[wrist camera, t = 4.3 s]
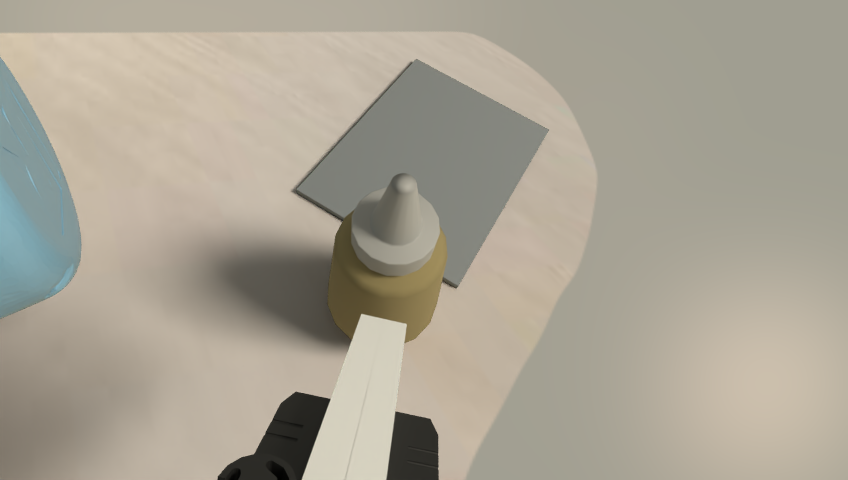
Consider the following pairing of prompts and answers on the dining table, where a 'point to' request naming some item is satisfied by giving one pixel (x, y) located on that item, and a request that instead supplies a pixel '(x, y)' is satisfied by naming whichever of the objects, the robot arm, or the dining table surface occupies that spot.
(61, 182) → the robot arm
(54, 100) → the dining table surface
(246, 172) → the dining table surface
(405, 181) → the squeeze bottle
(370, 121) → the rubber mat
